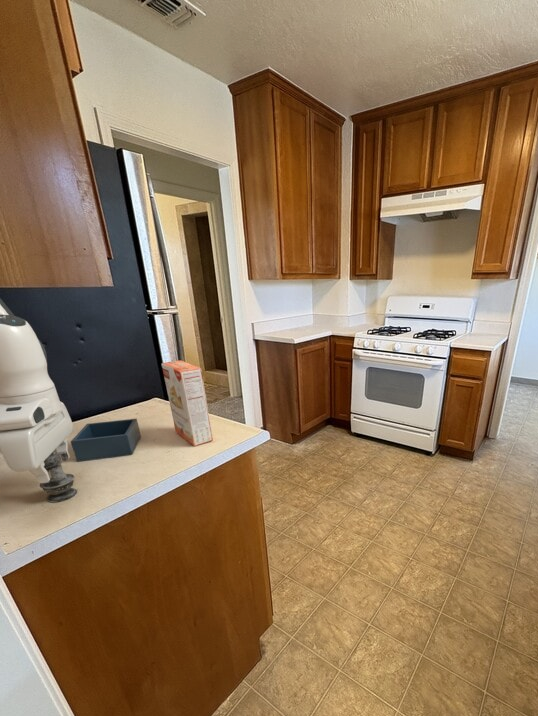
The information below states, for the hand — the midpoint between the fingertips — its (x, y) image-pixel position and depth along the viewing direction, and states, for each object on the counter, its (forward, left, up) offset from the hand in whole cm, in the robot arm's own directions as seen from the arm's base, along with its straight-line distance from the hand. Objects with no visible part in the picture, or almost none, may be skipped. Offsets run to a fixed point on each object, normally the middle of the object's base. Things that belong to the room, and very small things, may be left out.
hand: (55, 469), depth 72 cm
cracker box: (+25, +24, -6) cm, 35 cm away
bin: (+4, +23, -6) cm, 24 cm away
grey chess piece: (0, 0, -6) cm, 6 cm away
